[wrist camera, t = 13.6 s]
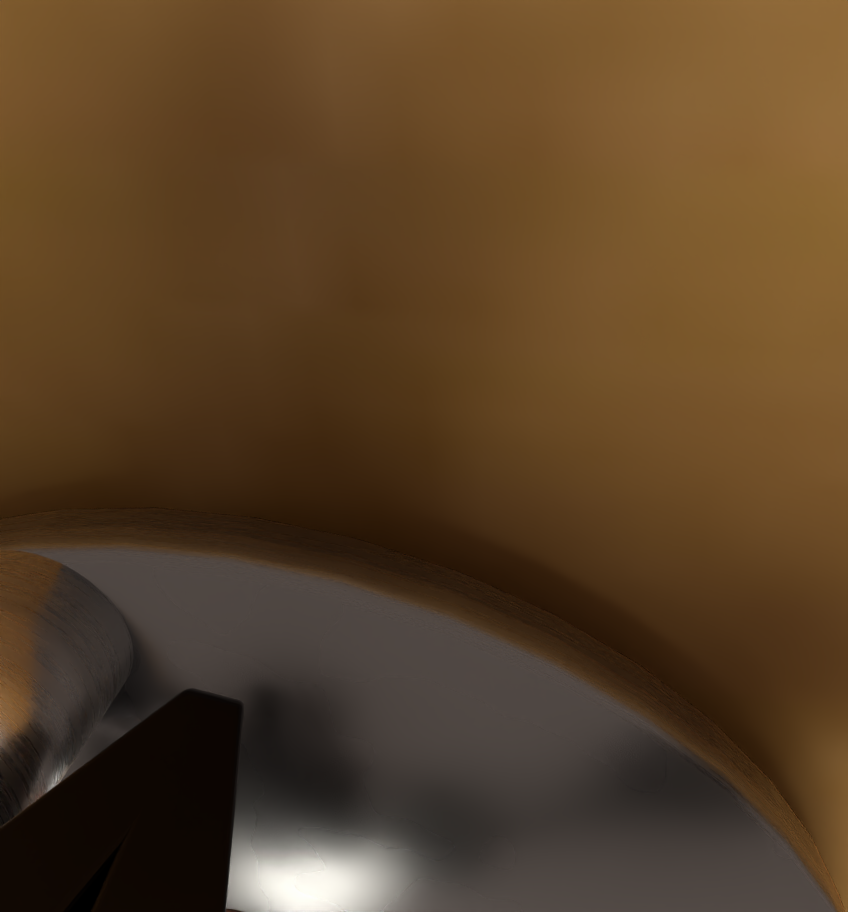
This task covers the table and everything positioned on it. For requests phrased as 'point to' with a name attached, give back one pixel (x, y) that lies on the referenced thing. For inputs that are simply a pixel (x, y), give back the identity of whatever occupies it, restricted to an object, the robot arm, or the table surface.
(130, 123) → the table surface
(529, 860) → the turntable
